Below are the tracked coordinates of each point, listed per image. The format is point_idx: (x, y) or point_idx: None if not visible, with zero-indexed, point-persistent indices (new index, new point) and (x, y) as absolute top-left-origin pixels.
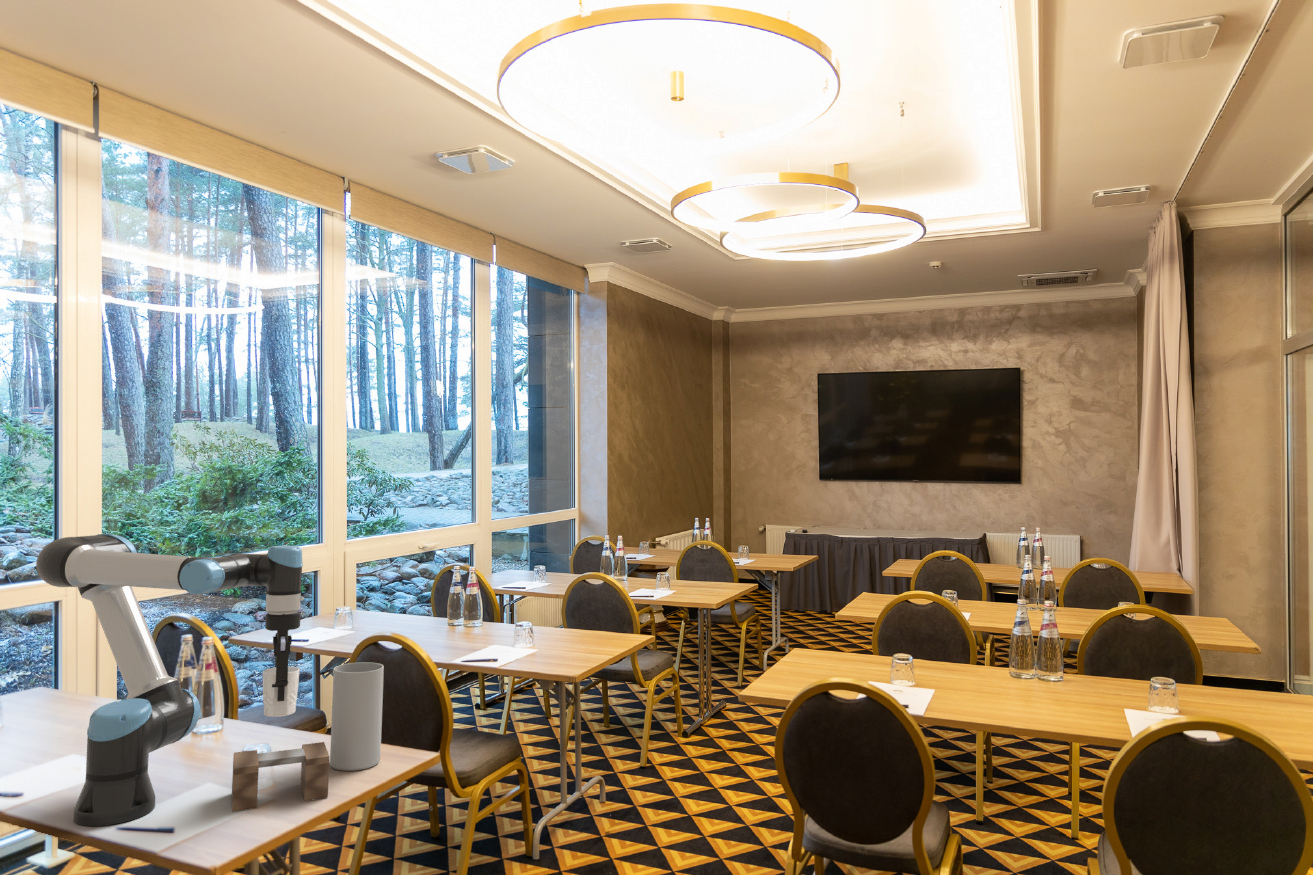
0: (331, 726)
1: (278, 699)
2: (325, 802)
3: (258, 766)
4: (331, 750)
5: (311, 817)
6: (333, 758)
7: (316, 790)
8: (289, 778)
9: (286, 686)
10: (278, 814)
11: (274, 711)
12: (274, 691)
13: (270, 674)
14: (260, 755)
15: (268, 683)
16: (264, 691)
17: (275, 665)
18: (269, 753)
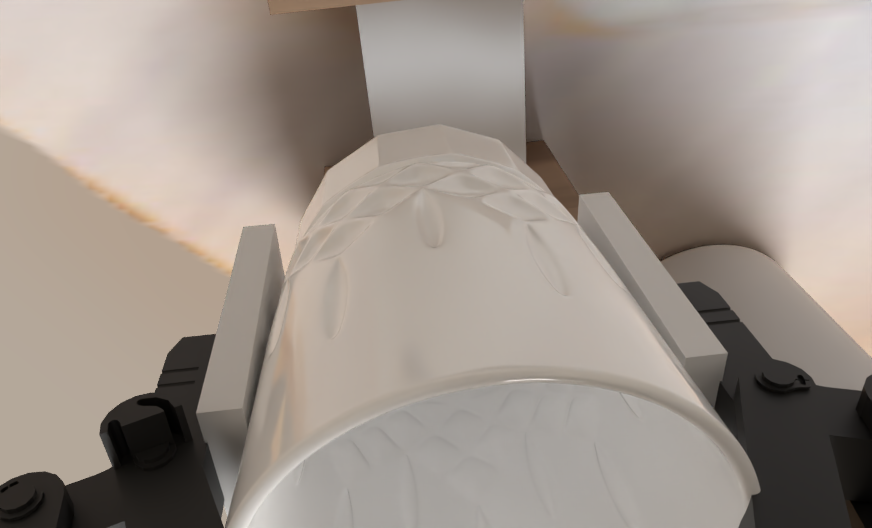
0: (796, 343)
1: (168, 360)
2: (287, 240)
3: (270, 11)
4: (720, 283)
5: (128, 200)
6: (684, 276)
7: None
8: (641, 90)
9: (226, 508)
10: (186, 72)
11: (239, 251)
12: (232, 365)
13: (248, 487)
14: (473, 9)
15: (288, 359)
16: (364, 240)
17: (753, 524)
18: (497, 60)
